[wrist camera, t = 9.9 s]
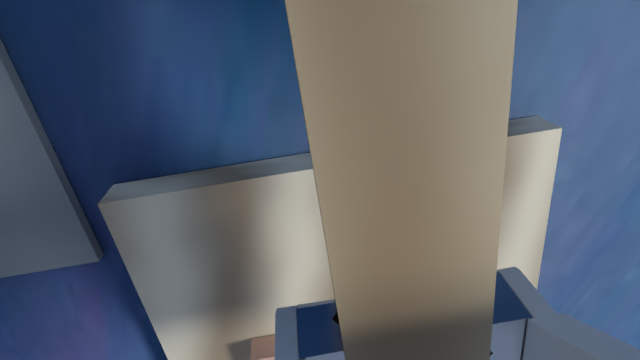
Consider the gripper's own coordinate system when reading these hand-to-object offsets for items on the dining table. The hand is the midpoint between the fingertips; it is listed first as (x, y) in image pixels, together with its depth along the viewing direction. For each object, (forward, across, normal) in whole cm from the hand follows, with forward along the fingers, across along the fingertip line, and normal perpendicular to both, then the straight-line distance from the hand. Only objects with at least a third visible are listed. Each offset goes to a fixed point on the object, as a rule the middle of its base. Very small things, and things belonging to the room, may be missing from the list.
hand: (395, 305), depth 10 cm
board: (+11, +1, +12) cm, 17 cm away
